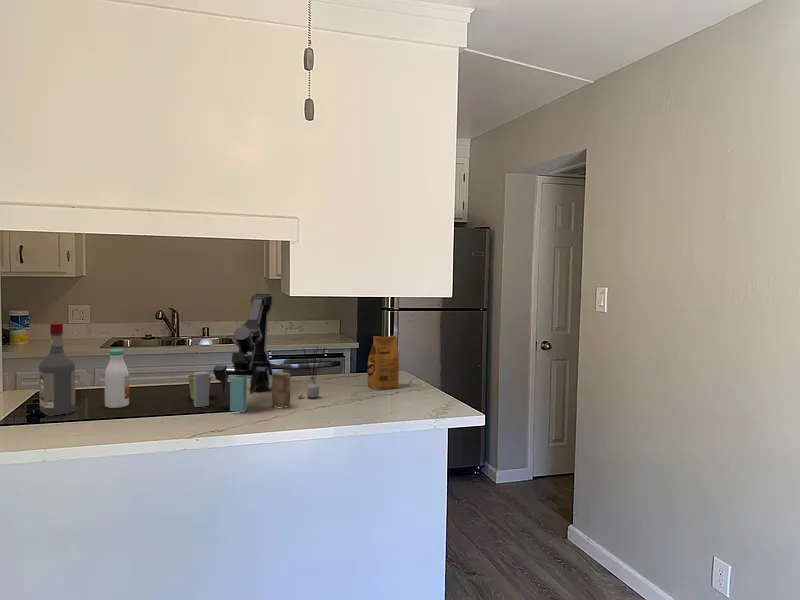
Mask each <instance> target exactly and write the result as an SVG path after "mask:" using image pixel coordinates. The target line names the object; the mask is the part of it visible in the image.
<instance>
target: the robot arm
mask: <svg viewBox="0 0 800 600" xmlns="http://www.w3.org/2000/svg"><path fill="white" fill-rule="evenodd" d="M250 301H251V302H250V303H251V306H250V309H249V313H248V316H247V317H248V318H247V320H246V322H244V323H243V324H241V325H240V327H238V328H237V329H236V330H235V331H234V332H233V337H234V341H235V343H236V347H237V348H238V351H237V352H232V356H231V363H232V367H233V368H231V369H230V368H228V366H227V365H223V364H222V365H219V364H217V365H215V366H214V367H213V370H212V371H213V374H214V375H213V376H214V378H215V380H217V381H219V382H220V383H221V386H222V387H221V389H222V393H223V394H224V395H226V393H227V388H228V382H229V380H228V379H229V376H247V377H251V378H250V379H249V380H250V382H249V383H250V387H249V388H248V389H249V394H250V395H253V393H254V392H256V393H259V392H265V391H271V390H272V388H270V376H272V374H273V366H272V364H271V361H270V357H269V355H268V352H267V339H268V335H267V334H268V320H269V315H270V314H271V312H272V311H273V307H274V305H275V296H272V294H271V293H256V294H255V295H251V297H250Z"/></svg>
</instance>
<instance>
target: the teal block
mask: <svg viewBox="0 0 800 600" xmlns="http://www.w3.org/2000/svg"><path fill="white" fill-rule="evenodd" d="M247 378H248V376H240V375H232V376H231V377H230V378H229V412H230V411H236V412H243V411H244V410H245V409H246V410H247V380H248V379H247Z"/></svg>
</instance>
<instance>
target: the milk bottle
mask: <svg viewBox="0 0 800 600" xmlns="http://www.w3.org/2000/svg"><path fill="white" fill-rule="evenodd" d="M124 353H125V350H124V349H123V348H122V349H121V348H115V349H110V350H109V354H108V355H109V362H108V364H107V367H106V368H105V371H104V373H105V374H104V407H105V408H107V407H108V409H117V408H118V409H119V408H125V407H128V406H129V404H130V378H129V377H130V376H129V369H128V367H127V365H126V363H125V360H124V356H125V355H124Z"/></svg>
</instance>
